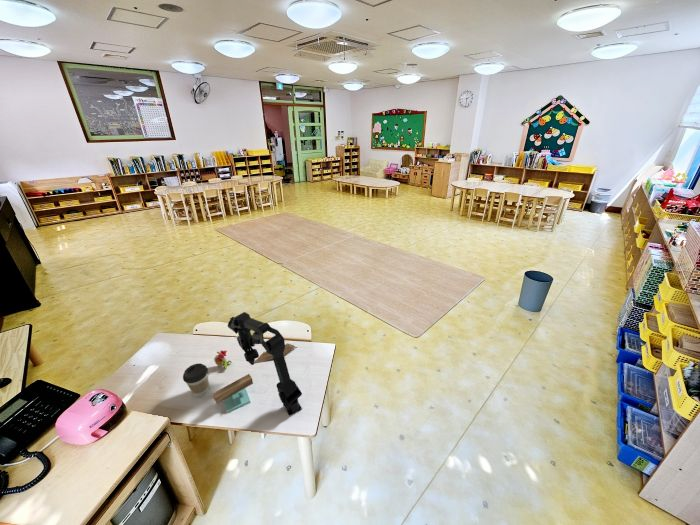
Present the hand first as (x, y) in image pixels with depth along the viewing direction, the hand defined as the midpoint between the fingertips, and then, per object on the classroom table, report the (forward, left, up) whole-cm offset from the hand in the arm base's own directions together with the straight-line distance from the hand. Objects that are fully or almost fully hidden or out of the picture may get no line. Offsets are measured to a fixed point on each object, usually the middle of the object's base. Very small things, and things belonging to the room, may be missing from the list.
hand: (250, 359), depth 155 cm
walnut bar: (-10, +12, -7) cm, 17 cm away
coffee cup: (+5, +26, -13) cm, 29 cm away
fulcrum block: (-10, +12, -13) cm, 20 cm away
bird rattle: (+17, +13, -13) cm, 25 cm away
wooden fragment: (+10, -15, -13) cm, 23 cm away
